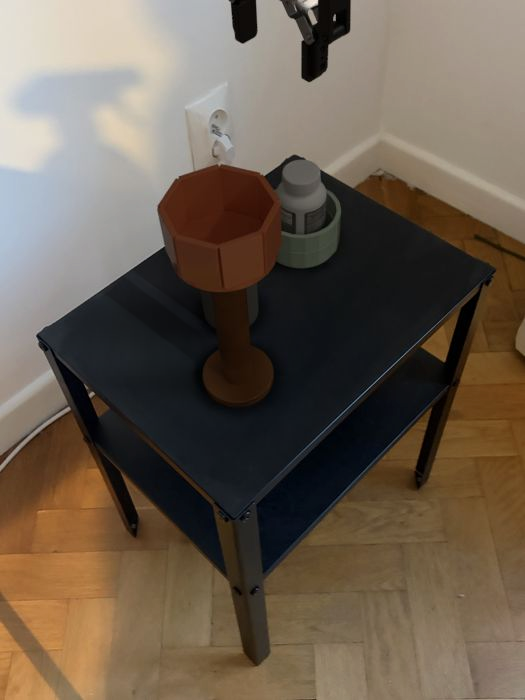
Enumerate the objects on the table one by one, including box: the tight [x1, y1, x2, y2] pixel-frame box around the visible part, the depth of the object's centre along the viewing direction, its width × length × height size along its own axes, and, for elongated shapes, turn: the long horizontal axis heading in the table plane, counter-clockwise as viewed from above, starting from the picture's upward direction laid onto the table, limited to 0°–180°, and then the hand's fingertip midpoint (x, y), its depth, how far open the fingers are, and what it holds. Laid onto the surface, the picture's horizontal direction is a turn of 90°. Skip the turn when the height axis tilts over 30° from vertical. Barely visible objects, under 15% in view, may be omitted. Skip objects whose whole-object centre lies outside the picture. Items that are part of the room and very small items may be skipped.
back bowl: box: [273, 187, 342, 269], centre depth 81 cm, size 9×9×5 cm
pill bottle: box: [276, 159, 327, 235], centre depth 79 cm, size 5×5×10 cm
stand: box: [202, 288, 274, 408], centre depth 65 cm, size 7×7×18 cm
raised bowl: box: [156, 163, 282, 292], centre depth 56 cm, size 9×9×5 cm
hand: (278, 57), depth 65 cm, fingers open, 8 cm apart
